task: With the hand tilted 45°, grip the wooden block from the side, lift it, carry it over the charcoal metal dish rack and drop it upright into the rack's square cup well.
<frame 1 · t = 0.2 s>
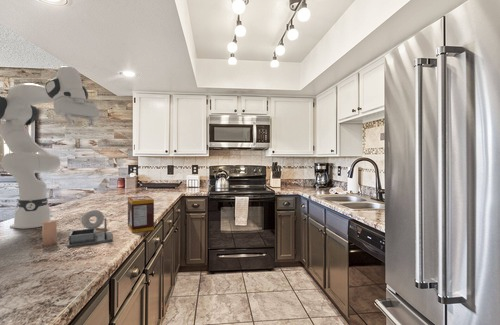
hand: (82, 125, 125), 52 cm above the countertop, tool tilted 20°, fingers open, 8 cm apart
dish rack: (91, 240, 115), on the countertop
wooden block: (49, 243, 109), on the countertop
grey ring: (93, 229, 132), on the countertop
supplement box: (140, 228, 135), on the countertop
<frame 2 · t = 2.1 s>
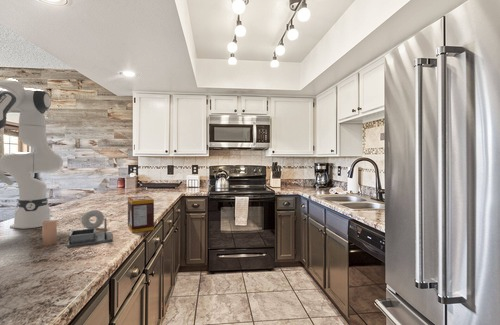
hand: (11, 183, 101), 26 cm above the countertop, tool tilted 45°, fingers open, 8 cm apart
nothing on the countertop moved.
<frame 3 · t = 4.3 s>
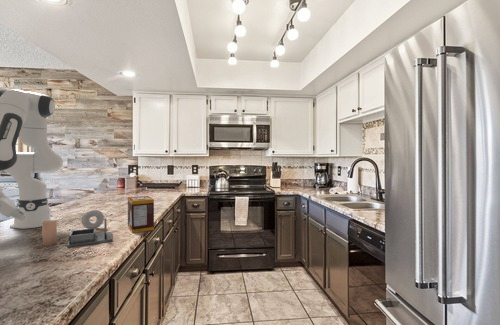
hand: (23, 217, 103), 12 cm above the countertop, tool tilted 45°, fingers open, 8 cm apart
nothing on the countertop moved.
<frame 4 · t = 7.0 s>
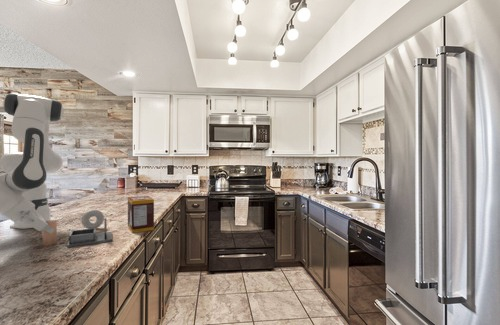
hand: (51, 230, 110), 6 cm above the countertop, tool tilted 45°, fingers closed on wooden block, 5 cm apart
wooden block: (49, 243, 109), on the countertop, touching gripper
everything else where it was.
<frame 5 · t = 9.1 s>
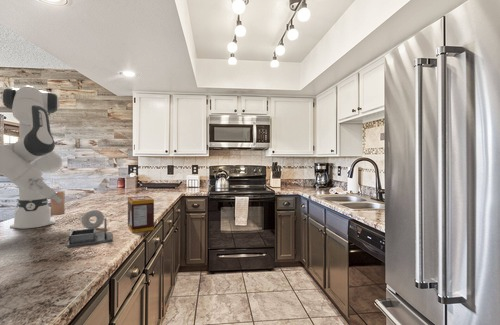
hand: (59, 200, 110), 18 cm above the countertop, tool tilted 45°, fingers closed on wooden block, 5 cm apart
wooden block: (57, 214, 110), point 12 cm above the countertop, touching gripper
everything else where it was.
when the fingers open (8 cm above the countertop, at t = 11.7 s): wooden block drops 1 cm, resting on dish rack.
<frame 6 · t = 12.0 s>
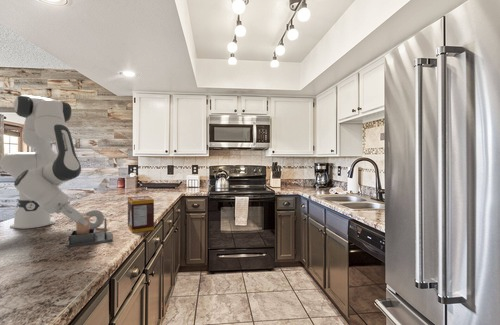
hand: (84, 222, 113), 8 cm above the countertop, tool tilted 45°, fingers open, 7 cm apart
wooden block: (82, 238, 113), point 1 cm above the countertop, touching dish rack
everything else where it was.
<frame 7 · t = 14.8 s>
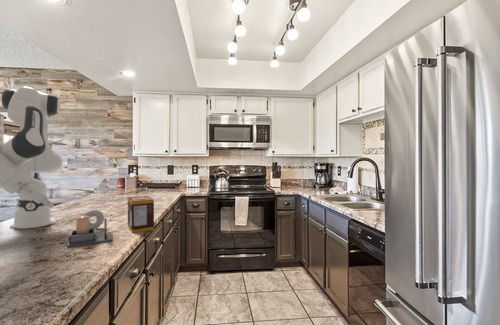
hand: (50, 205, 105), 17 cm above the countertop, tool tilted 45°, fingers open, 8 cm apart
nothing on the countertop moved.
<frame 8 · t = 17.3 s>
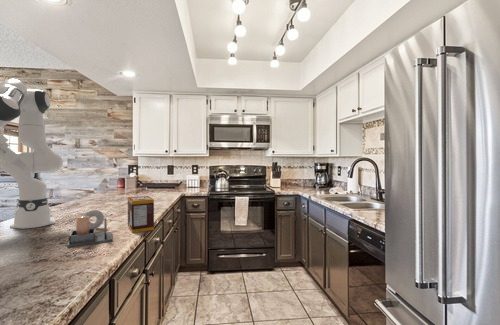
hand: (27, 169, 106), 31 cm above the countertop, tool tilted 45°, fingers open, 8 cm apart
nothing on the countertop moved.
at the end: wooden block 0.1 cm from the target spot on the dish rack, point 1.0 cm above the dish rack's base; wooden block tilted 0°; the gripper is holding nothing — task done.
